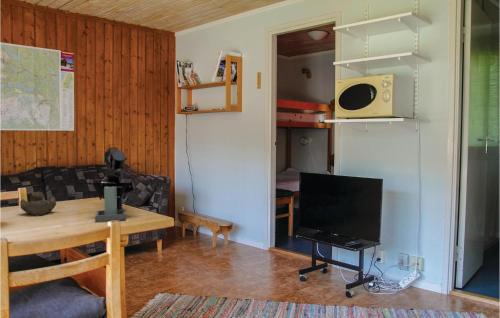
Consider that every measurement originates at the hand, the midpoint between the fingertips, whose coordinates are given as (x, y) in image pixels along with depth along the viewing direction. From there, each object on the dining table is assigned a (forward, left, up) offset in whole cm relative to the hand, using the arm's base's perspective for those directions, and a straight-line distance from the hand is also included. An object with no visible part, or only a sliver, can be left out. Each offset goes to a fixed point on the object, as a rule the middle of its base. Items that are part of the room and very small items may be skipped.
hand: (110, 199), depth 199 cm
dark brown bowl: (-23, -35, -10) cm, 43 cm away
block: (0, 0, -8) cm, 8 cm away
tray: (0, 0, -9) cm, 9 cm away
